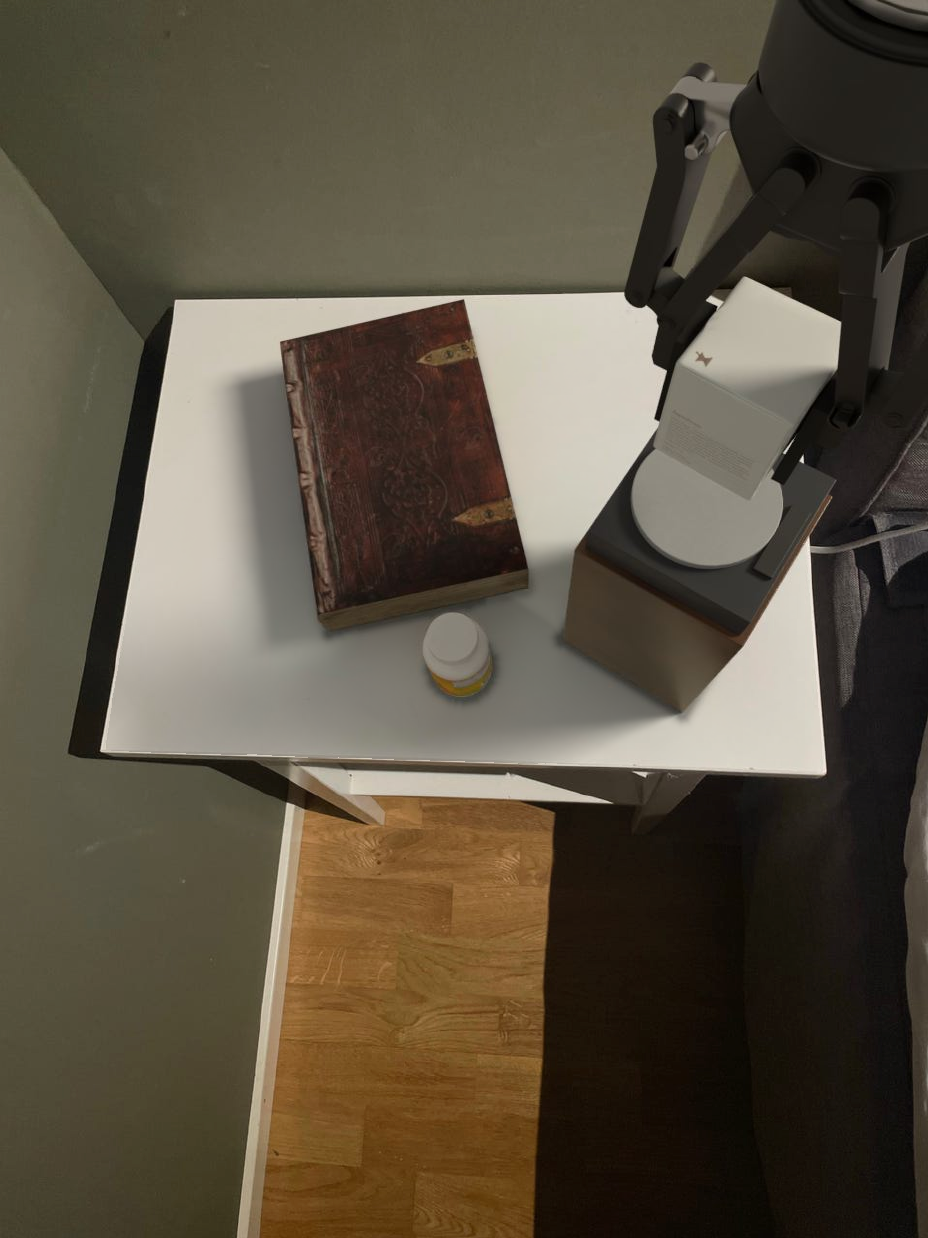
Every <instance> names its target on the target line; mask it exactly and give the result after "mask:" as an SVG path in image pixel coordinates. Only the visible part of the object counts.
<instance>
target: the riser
mask: <svg viewBox="0 0 928 1238" xmlns="http://www.w3.org/2000/svg"><path fill="white" fill-rule="evenodd" d="M657 429H658V427H657V428H656V429H655V431H654V432H653V434H652V435H651V436H650V437H649V440H650V439H651V438H652V436H653V435H654V433H655V432H656V430H657ZM649 440H648V441H647V443H648V442H649ZM647 443H646V444H645V445H644V447H643V448H642V450H641V451H640V452H639V454H638V456H637V457H636V458H635V460H634V462H633V463H632V465H633V464H634V463H635V461H636V460H637V458H638V457H639V455H640V454H641V452H642V451H643V449H644V448H645V446H646V445H647ZM632 465H631V466H630V467H629V469H628V470H627V472H626V473H625V474H624V476H623V478H622V479H621V480H620V482H619V483H618V485H617V487H615V490H614V491H613V493H614V492H615V491H616V489H617V488H618V486H619V485H620V483H621V482H622V480H623V479H624V477H625V476H626V474H627V473H628V471H629V470H630V468H631V467H632ZM613 493H612V494H611V496H612V495H613ZM611 496H610V497H609V498H608V500H607V501H606V503H605V504H604V506H603V507H602V508H601V510H600V512H599V513H598V514H597V516H596V517H595V519H594V520H593V522H592V524H593V523H594V521H595V520H596V518H597V517H598V516H599V514H600V513H601V511H602V510H603V508H604V507H605V505H606V504H607V502H608V501H609V499H610V498H611ZM832 500H833V496H832V495H831V494H828V495H827V497H826V499H825V500H824V502H823V504H822V505H821V507H820V509H819V510H818V512H817V514H816V515H815V517H814V519H813V520H812V522H811V524H810V525H809V527H808V529H807V530H806V532H805V534H804V535H803V537H802V539H801V540H800V542H799V544H798V545H797V547H796V549H795V550H794V552H793V554H792V555H791V557H790V559H789V560H788V562H787V564H786V565H785V567H784V569H783V570H782V572H781V574H780V575H779V577H778V579H777V580H776V582H775V584H774V585H773V587H772V589H771V590H770V592H769V594H768V595H767V597H766V599H765V600H764V602H763V604H762V605H761V607H760V609H759V610H758V612H757V614H756V615H755V617H754V619H753V620H752V622H751V623H750V624H749V626H748V627H747V628H746V629H745V630H744V631H743V633H742V634H741V635H738V634H736V633H734V632H732V631H731V630H729V629H727V628H725V627H724V626H722V625H720V624H718V623H717V622H715V621H713V620H711V619H710V618H708V617H706V616H704V615H703V614H701V613H699V612H697V611H696V610H694V609H692V608H690V607H689V606H687V605H685V604H683V603H681V602H680V601H678V600H676V599H674V598H673V597H671V596H669V595H667V594H666V593H664V592H662V591H660V590H659V589H657V588H655V587H653V586H652V585H650V584H648V583H646V582H645V581H643V580H641V579H639V578H638V577H636V576H634V575H632V574H630V573H629V572H627V571H625V570H623V569H622V568H620V567H618V566H616V565H615V564H613V563H611V562H609V561H608V560H606V559H604V558H602V557H601V556H599V555H597V554H595V553H594V552H592V551H590V550H588V549H587V548H585V545H586V539H587V533H588V530H589V529H590V527H591V526H592V524H591V525H590V527H589V528H588V529H587V531H586V532H585V533H584V535H583V536H582V538H581V539H580V541H579V543H578V544H577V545H576V546H575V548H574V551H573V558H572V567H571V573H570V581H569V589H568V594H567V595H568V597H567V602H566V603H567V604H566V611H565V619H564V626H563V635H562V641H563V642H565V643H566V644H568V645H570V646H571V647H573V648H575V649H576V650H578V651H580V652H581V653H583V654H585V656H587V657H589V658H591V659H593V660H595V661H596V662H598V664H599V663H600V664H601V665H603V666H604V667H606V668H607V669H609V670H611V671H613V672H614V673H616V674H618V675H619V676H621V677H622V678H624V679H626V680H627V681H629V682H631V683H633V684H634V685H635V686H637V687H639V688H641V690H644V691H646V692H647V693H649V694H650V695H652V696H654V697H656V698H657V699H658V700H660V701H662V702H664V703H665V704H667V705H668V706H670V707H672V708H673V709H675V710H677V711H678V712H680V713H684V712H685V711H686V710H687V709H688V708H689V707H690V706H691V705H692V703H693V702H694V701H695V700H696V699H697V698H698V697H699V696H700V695H701V694H702V692H704V690H705V689H706V688H707V687H708V686H709V685H710V684H711V683H712V682H713V680H714V679H715V678H716V677H717V676H718V675H719V674H720V673H721V672H722V670H723V669H725V667H726V666H727V665H728V664H729V663H730V662H731V661H732V660H733V658H734V657H735V656H736V655H738V653H739V652H740V651H741V650H742V648H744V646H745V645H746V643H747V641H748V640H749V638H750V636H751V635H752V633H753V631H754V630H755V628H756V626H757V625H758V623H759V621H760V620H761V618H762V616H763V614H764V613H765V612H766V610H767V608H768V606H769V605H770V603H771V601H772V600H773V598H774V596H775V595H776V594H777V591H778V589H779V588H780V586H781V584H782V583H783V581H784V580H785V578H786V576H787V574H788V573H789V571H790V569H791V568H792V566H793V564H794V562H795V561H796V560H797V558H798V556H799V554H800V553H801V551H802V549H803V548H804V546H805V544H806V542H808V540H809V538H810V536H811V535H812V532H813V531H814V529H815V528H816V526H817V524H818V523H819V521H820V520H821V518H822V516H823V514H824V512H825V511H826V509H827V508H828V506H829V504H830V503H831V501H832Z"/></svg>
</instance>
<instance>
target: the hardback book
mask: <svg viewBox="0 0 928 1238" xmlns="http://www.w3.org/2000/svg"><path fill="white" fill-rule="evenodd" d="M279 346H280V347H279V348H280V355H281V363H282V369H283V378H284V385H285V391H286V399H287V408H288V413H289V420H290V427H291V436H292V441H293V451H294V457H295V464H296V471H297V478H298V485H299V492H300V500H301V506H302V514H303V522H304V529H305V535H306V544H307V550H308V557H309V565H310V574H311V579H312V588H313V593H314V601H315V608H316V615H317V620H318V622H319V623H320V624H321V626H322V627H323V628H324V629H325V630H328V631H330V632H333V631H338V630H342V629H346V628H352V627H355V626H360V625H361V626H362V625H365V624H369V623H370V624H371V623H374V622H378V621H383V620H389V619H392V618H397V617H398V618H399V617H401V616H406V615H411V614H416V613H420V612H421V613H422V612H425V611H430V610H435V609H440V608H443V607H448V606H452V605H457V604H461V603H466V602H471V601H476V600H481V599H484V598H490V597H494V596H499V595H502V594H507V593H512V592H513V593H514V592H517V591H523V590H526V589H529V577H530V575H529V572H530V571H529V569H530V568H529V564H528V561H527V557H526V552H525V548H524V544H523V540H522V536H521V532H520V527H519V523H518V518H517V515H516V510H515V506H514V502H513V498H512V493H511V489H510V485H509V481H508V477H507V473H506V468H505V465H504V464H505V463H504V459H503V457H502V452H501V449H500V443H499V440H498V436H497V435H498V434H497V431H496V427H495V422H494V418H493V415H492V410H491V405H490V402H489V398H488V397H489V396H488V394H487V389H486V385H485V381H484V376H483V372H482V368H481V364H480V360H479V356H478V351H477V347H476V344H475V340H474V335H473V330H472V327H471V321H470V318H469V314H468V309H467V306H466V302H465V299H464V298H462V299H458V300H453V301H449V302H445V303H441V304H437V305H433V306H428V307H424V308H420V309H415V310H410V311H407V312H402V313H398V314H393V315H389V316H385V317H381V318H376V319H372V320H368V321H367V320H366V321H364V322H358V323H355V324H350V325H345V326H341V327H338V328H333V329H329V330H323V331H321V332H315V333H312V334H307V335H306V334H305V335H302V336H298V337H294V338H290V339H289V338H288V339H284V340H281V341H279Z"/></svg>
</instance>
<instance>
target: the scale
mask: <svg viewBox="0 0 928 1238" xmlns="http://www.w3.org/2000/svg"><path fill="white" fill-rule="evenodd" d="M655 431H656V432H655ZM655 431H654V432H655V433H654V432H653V434H654V435H653V434H652V435H653V436H652V435H651V437H652V438H651V437H650V438H651V439H650V438H649V440H648V441H649V442H648V441H647V442H648V443H646V444H647V445H646V444H645V445H646V446H645V445H644V447H645V448H644V447H643V448H644V449H643V448H642V450H643V451H642V450H641V451H642V452H641V451H640V453H641V454H640V453H639V454H640V455H639V454H638V456H639V457H638V456H637V457H638V458H637V457H636V459H637V460H636V459H635V460H636V461H635V460H634V462H635V463H634V462H633V463H634V464H633V463H632V464H631V466H632V467H631V466H630V467H631V468H630V467H629V469H630V470H629V469H628V470H629V471H628V470H627V472H628V473H627V472H626V473H627V474H626V473H625V475H626V476H625V475H624V476H625V477H624V476H623V478H624V479H623V478H622V479H623V480H622V479H621V481H622V482H621V481H620V482H621V483H620V482H619V484H620V485H619V484H618V485H619V486H618V485H617V487H618V488H617V487H616V488H617V489H616V488H615V490H616V491H615V490H614V491H615V492H614V491H613V492H614V493H612V494H613V495H612V494H611V495H612V496H610V497H611V498H610V497H609V498H610V499H609V498H608V500H609V501H608V500H607V501H608V502H607V501H606V503H607V504H606V503H605V504H606V505H605V504H604V506H605V507H604V506H603V507H604V508H603V507H602V509H603V510H602V509H601V510H602V511H601V510H600V512H601V513H600V512H599V513H600V514H599V513H598V515H599V516H598V515H597V516H598V517H597V516H596V517H597V518H596V517H595V519H596V520H595V519H594V520H595V521H594V520H593V522H594V523H593V522H592V523H593V524H591V525H592V526H591V525H590V526H591V527H589V528H590V529H589V528H588V529H589V530H588V529H587V531H588V533H587V539H586V545H585V548H587V549H588V550H590V551H592V552H594V553H595V554H597V555H599V556H601V557H602V558H604V559H606V560H608V561H609V562H611V563H613V564H615V565H616V566H618V567H620V568H622V569H623V570H625V571H627V572H629V573H630V574H632V575H634V576H636V577H638V578H639V579H641V580H643V581H645V582H646V583H648V584H650V585H652V586H653V587H655V588H657V589H659V590H660V591H662V592H664V593H666V594H667V595H669V596H671V597H673V598H674V599H676V600H678V601H680V602H681V603H683V604H685V605H687V606H689V607H690V608H692V609H694V610H696V611H697V612H699V613H701V614H703V615H704V616H706V617H708V618H710V619H711V620H713V621H715V622H717V623H718V624H720V625H722V626H724V627H725V628H727V629H729V630H731V631H732V632H734V633H736V634H738V635H741V634H742V633H743V631H744V630H745V629H746V628H747V627H748V626H749V624H750V623H751V622H752V620H753V619H754V617H755V615H756V614H757V612H758V610H759V609H760V607H761V605H762V604H763V602H764V600H765V599H766V597H767V595H768V594H769V592H770V590H771V589H772V587H773V585H774V584H775V582H776V580H777V579H778V577H779V575H780V574H781V572H782V570H783V569H784V567H785V565H786V564H787V562H788V560H789V559H790V557H791V555H792V554H793V552H794V550H795V549H796V547H797V545H798V544H799V542H800V540H801V539H802V537H803V535H804V534H805V532H806V530H807V529H808V527H809V525H810V524H811V522H812V520H813V519H814V517H815V515H816V514H817V512H818V510H819V509H820V507H821V505H822V504H823V502H824V500H825V499H826V497H827V495H828V494H829V493H830V492H831V490H832V489H833V487H834V485H835V483H836V482H837V479H836V478H834V477H832V476H830V475H828V474H826V473H824V472H822V471H820V470H818V469H816V468H814V467H812V466H810V465H808V464H806V463H803V462H802V461H801V460H800V461H799V463H798V464H797V466H796V467H795V469H794V470H793V472H792V474H791V475H790V477H789V478H788V480H787V481H786V483H785V485H782V484H780V483H778V482H776V481H774V480H772V479H771V477H772V476H773V474H774V472H775V470H776V469H777V467H778V465H779V464H780V462H781V460H782V459H783V457H784V455H785V454H786V453H784V452H783V454H782V455H781V457H780V458H779V459H778V461H777V462H776V463H775V465H774V466H773V467H772V469H771V470H770V472H769V473H768V475H767V476H766V477H765V479H764V480H763V482H762V483H761V485H760V487H759V488H758V490H757V491H756V493H755V495H754V496H753V498H752V499H751V500H749V501H748V500H746V499H744V498H742V497H741V496H739V495H737V494H735V493H734V492H732V491H730V490H728V489H726V488H725V487H723V486H721V485H719V484H718V483H716V482H714V481H712V480H711V479H709V478H707V477H705V476H704V475H702V474H700V473H698V472H697V471H695V470H693V469H691V468H689V467H688V466H686V465H684V464H682V463H681V462H679V461H677V460H675V459H673V458H672V457H670V456H668V455H666V454H665V453H663V452H661V451H660V450H658V449H656V448H655V447H654V446H653V444H654V440H655V437H656V433H657V430H656V429H655ZM829 495H830V494H829Z"/></svg>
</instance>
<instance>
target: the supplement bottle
mask: <svg viewBox="0 0 928 1238" xmlns="http://www.w3.org/2000/svg"><path fill="white" fill-rule="evenodd" d="M422 655H423V660H424V662H425V664H426V666H427V669H428V670H429V672H430V675H431V676H432V678H433V680H434V683H435V684H436V685H437V687H438V689H440V690H441V691H443V692H444V693H445V694H447V695H450V696H451V697H457V698H465V697H471V696H473V695H476V694H478V693H479V692H480V691H482V690H483V689H484V688H485V687H486V686H487V685H488V683H489V682H490V679H491V677H492V673H493V659H492V653H491V649H490V643H489V639H488V636H487V633H486V631H485V630H484V629H483V627H482V626H481V625H480V624H479V623H478V622H477V621H475V620H474V619H472V618H470V617H468V616H467V615H466V614H463V613H460V612H454V611H453V612H452V611H451V612H446V613H443V614H441V615H439V616H437V617H436V618H434V620H433V621H432V622H431V623H430V625H429V627H428V629H427V631H426V633H425V635H424V638H423V641H422Z"/></svg>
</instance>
